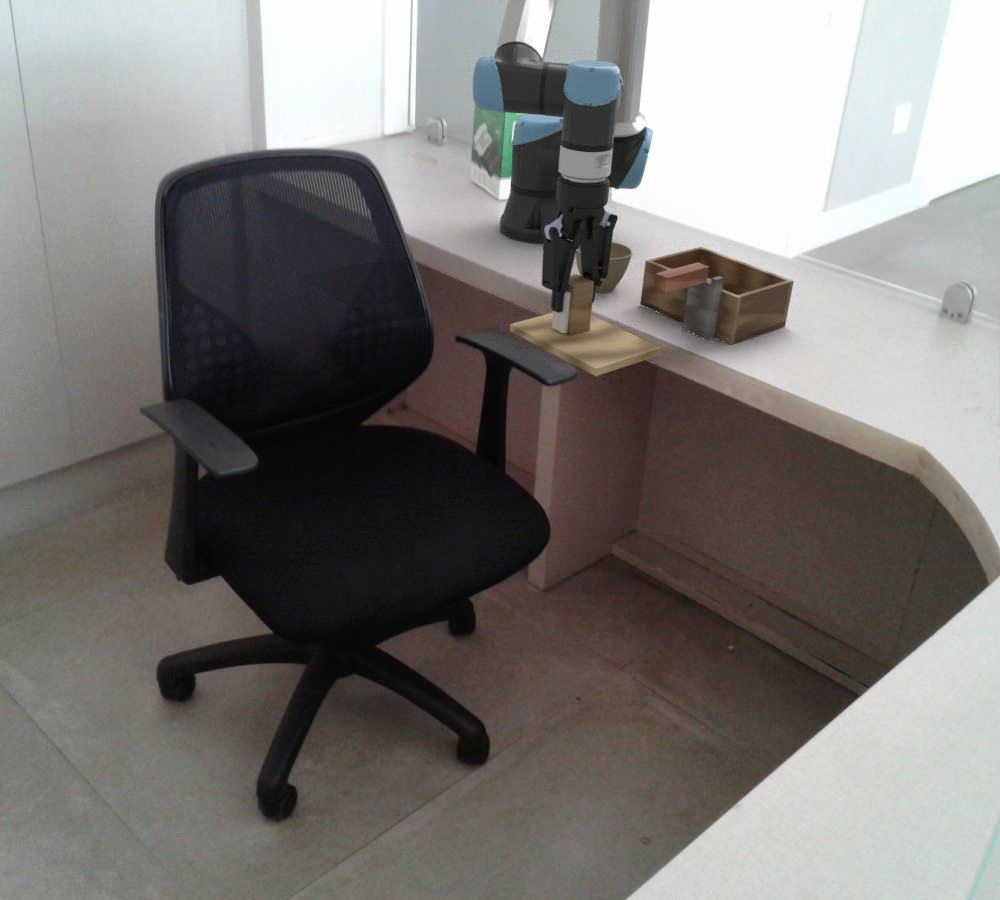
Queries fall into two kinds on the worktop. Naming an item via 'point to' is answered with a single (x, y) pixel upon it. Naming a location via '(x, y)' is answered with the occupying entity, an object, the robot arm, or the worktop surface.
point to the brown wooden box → (720, 297)
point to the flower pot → (611, 266)
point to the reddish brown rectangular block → (681, 277)
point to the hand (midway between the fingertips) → (570, 326)
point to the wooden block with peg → (586, 335)
